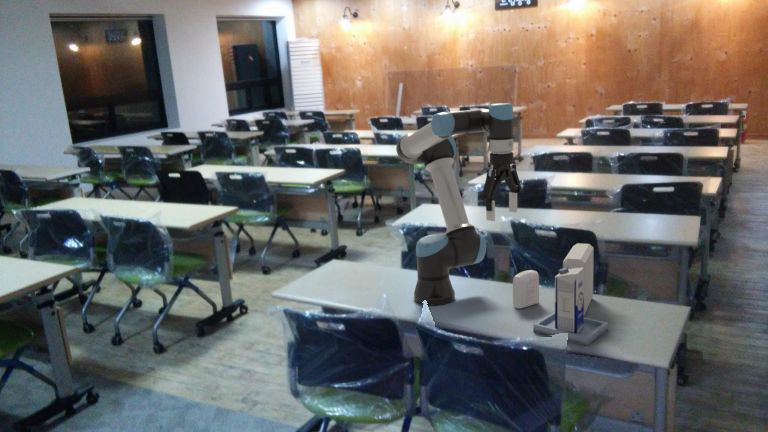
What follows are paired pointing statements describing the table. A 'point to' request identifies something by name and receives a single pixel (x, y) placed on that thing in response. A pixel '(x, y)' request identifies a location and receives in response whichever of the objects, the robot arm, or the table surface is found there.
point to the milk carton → (569, 300)
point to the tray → (585, 337)
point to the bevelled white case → (582, 259)
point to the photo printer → (525, 289)
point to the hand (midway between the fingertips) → (502, 216)
